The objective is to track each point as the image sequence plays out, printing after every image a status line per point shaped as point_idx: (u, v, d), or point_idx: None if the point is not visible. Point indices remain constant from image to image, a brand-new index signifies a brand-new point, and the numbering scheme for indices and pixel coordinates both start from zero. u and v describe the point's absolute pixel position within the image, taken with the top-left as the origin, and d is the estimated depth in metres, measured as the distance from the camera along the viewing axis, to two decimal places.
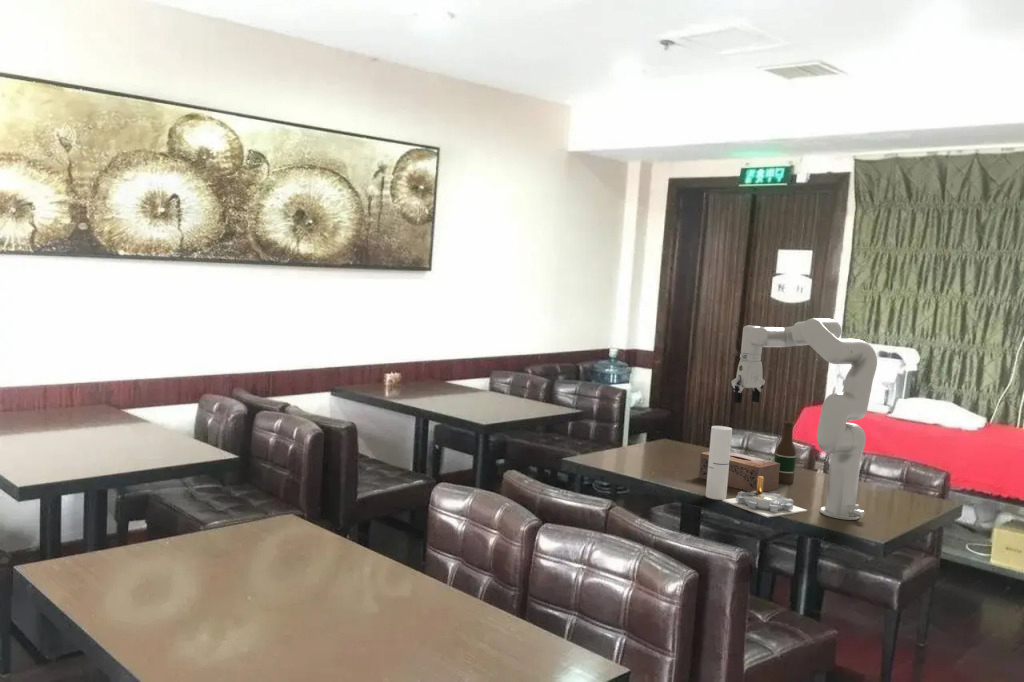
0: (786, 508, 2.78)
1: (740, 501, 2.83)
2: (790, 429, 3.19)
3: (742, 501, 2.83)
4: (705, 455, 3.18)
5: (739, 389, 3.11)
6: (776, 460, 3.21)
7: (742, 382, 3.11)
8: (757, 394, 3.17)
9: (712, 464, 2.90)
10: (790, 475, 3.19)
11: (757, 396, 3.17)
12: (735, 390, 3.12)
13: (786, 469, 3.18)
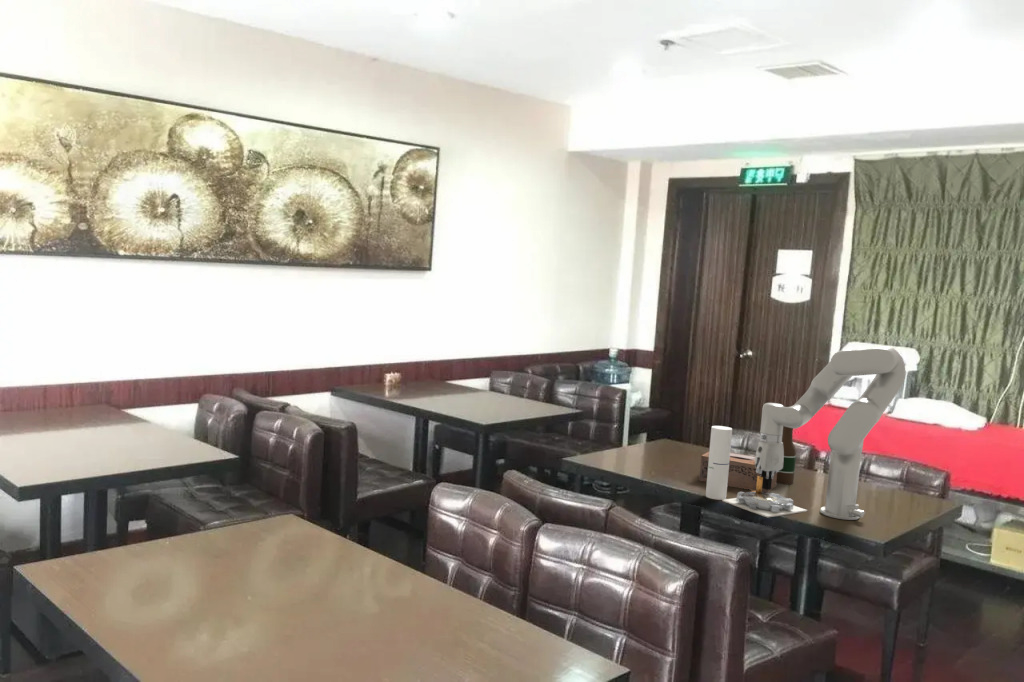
0: (787, 508, 2.78)
1: (740, 501, 2.83)
2: (790, 429, 3.19)
3: (742, 501, 2.83)
4: (707, 457, 3.14)
5: (766, 476, 2.90)
6: None
7: (761, 465, 2.88)
8: None
9: (712, 464, 2.90)
10: (790, 475, 3.19)
11: None
12: (762, 476, 2.91)
13: (786, 469, 3.18)
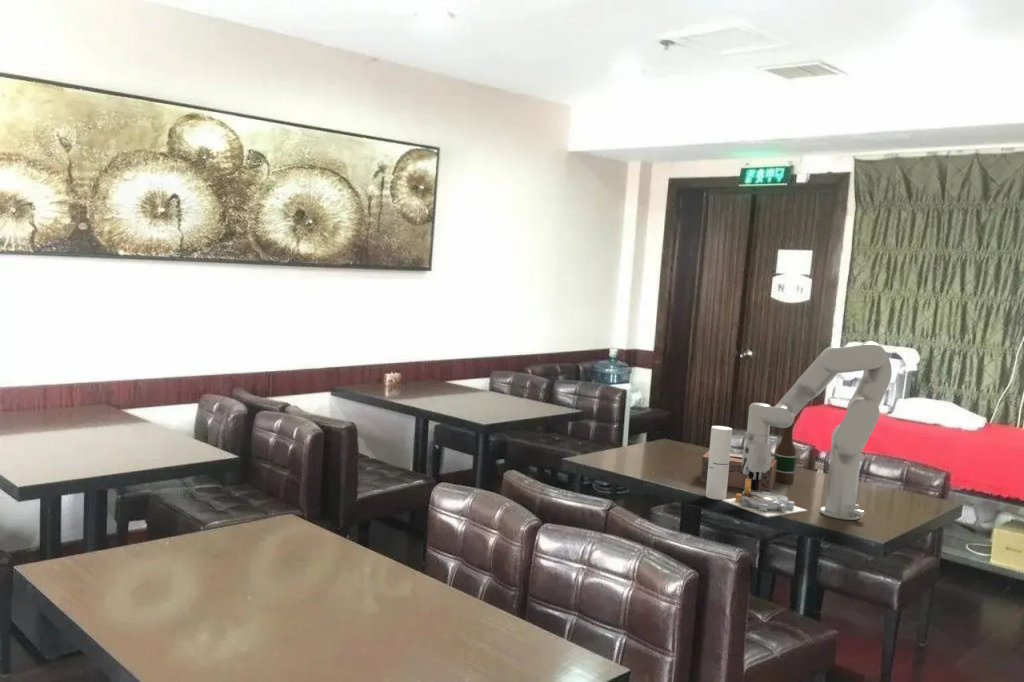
0: None
1: (767, 508, 2.76)
2: (790, 429, 3.19)
3: (767, 508, 2.77)
4: (708, 458, 3.13)
5: (753, 477, 2.87)
6: None
7: (748, 466, 2.84)
8: None
9: (712, 464, 2.90)
10: (790, 475, 3.19)
11: None
12: (749, 477, 2.88)
13: (786, 469, 3.18)
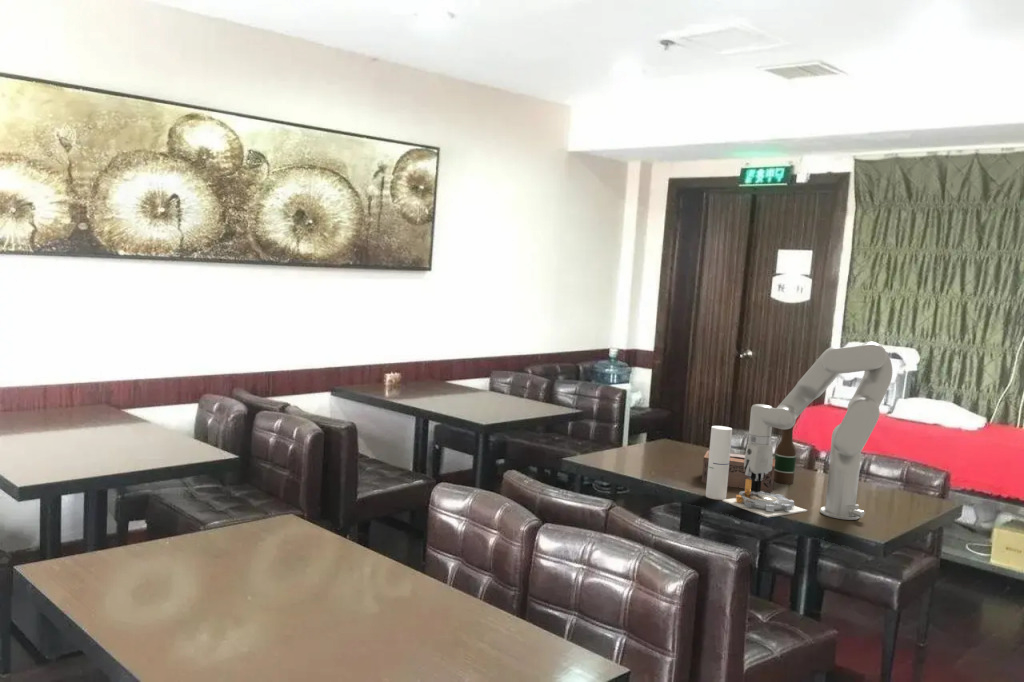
0: None
1: None
2: (790, 429, 3.19)
3: None
4: None
5: (755, 478, 2.87)
6: (776, 460, 3.21)
7: (751, 467, 2.84)
8: None
9: (712, 464, 2.90)
10: (790, 475, 3.19)
11: None
12: (752, 478, 2.88)
13: (786, 469, 3.18)
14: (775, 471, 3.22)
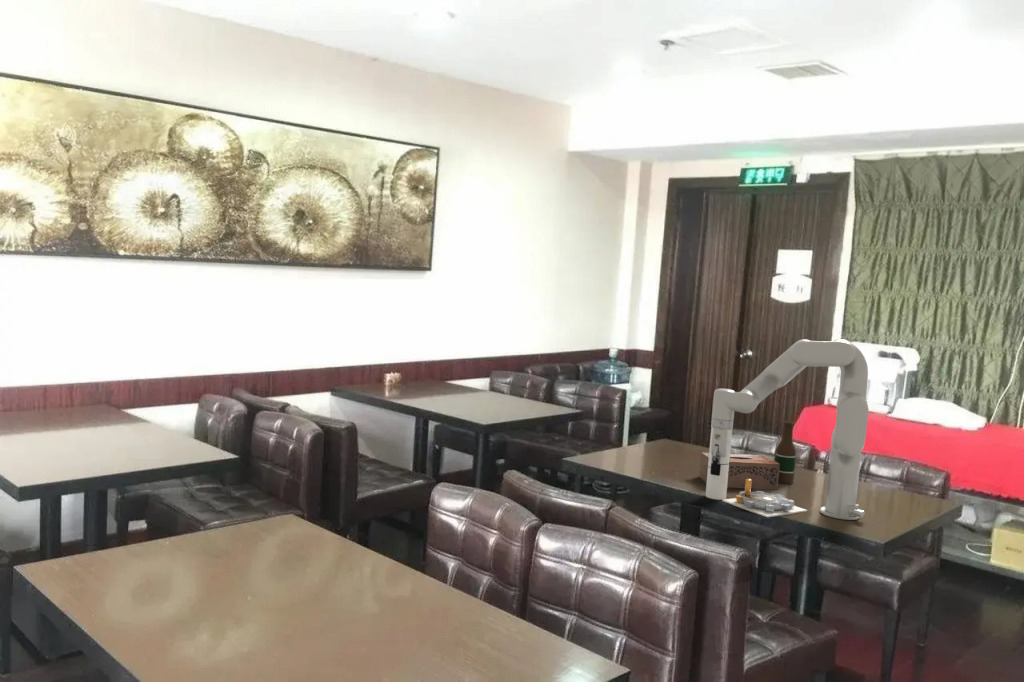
0: None
1: None
2: (790, 429, 3.19)
3: None
4: None
5: (718, 461, 2.87)
6: (776, 460, 3.21)
7: (721, 452, 2.87)
8: None
9: None
10: (790, 475, 3.19)
11: None
12: (714, 462, 2.87)
13: (786, 469, 3.18)
14: None
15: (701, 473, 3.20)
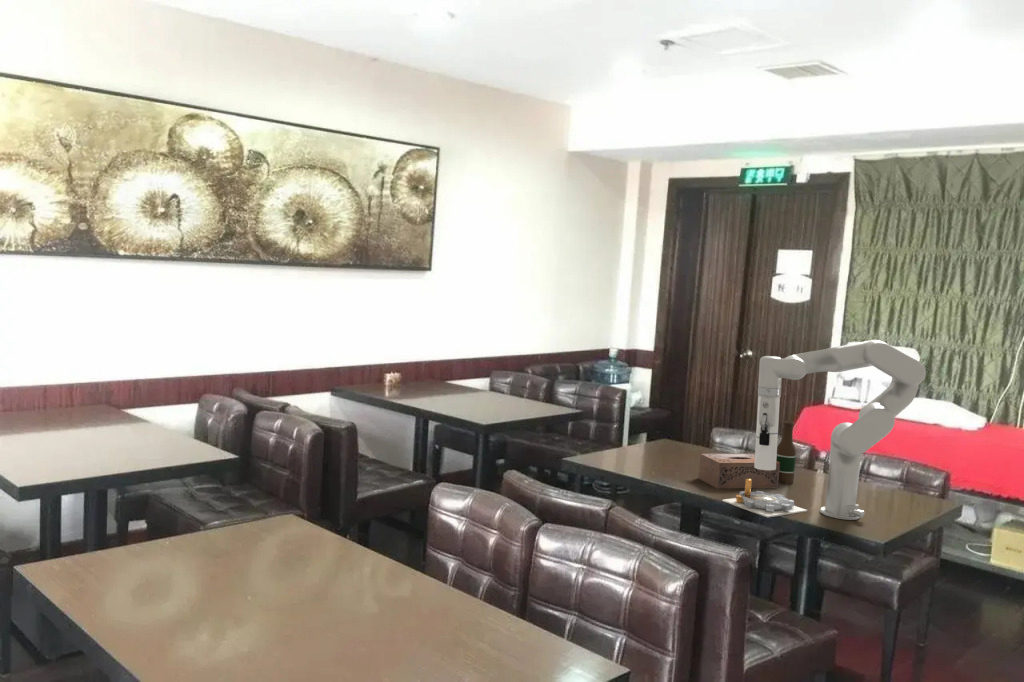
0: None
1: None
2: (790, 429, 3.19)
3: None
4: (724, 464, 3.06)
5: (767, 430, 2.79)
6: (776, 460, 3.21)
7: (769, 421, 2.78)
8: None
9: None
10: (790, 475, 3.19)
11: None
12: (763, 432, 2.79)
13: (786, 469, 3.18)
14: None
15: (701, 475, 3.17)
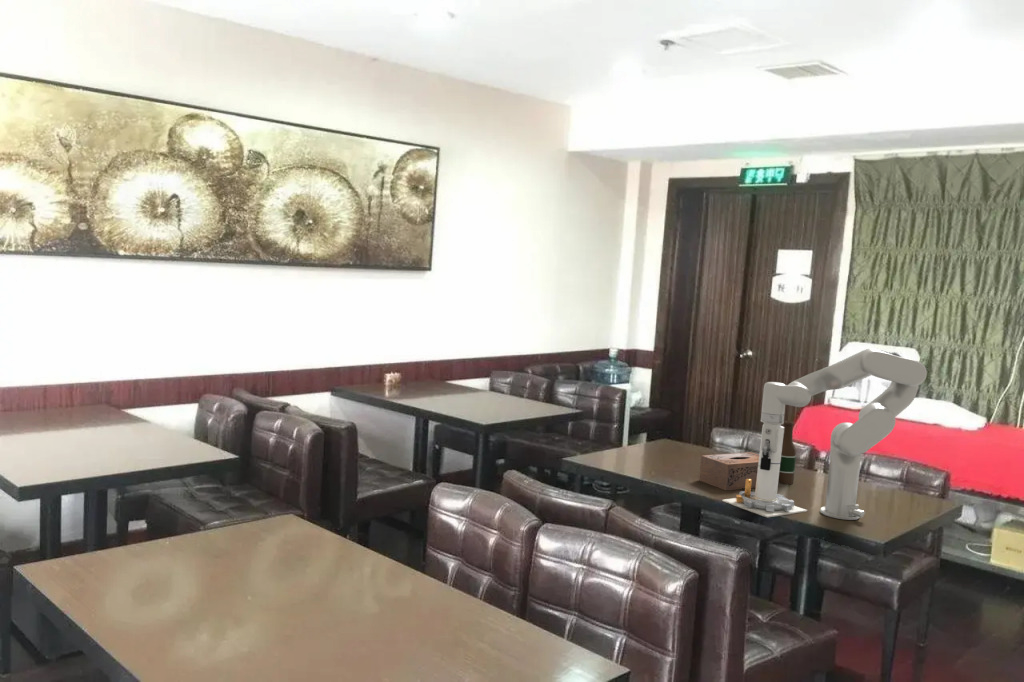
0: None
1: None
2: (790, 429, 3.19)
3: None
4: (732, 465, 3.04)
5: (769, 455, 2.78)
6: None
7: (772, 447, 2.78)
8: None
9: None
10: (790, 475, 3.19)
11: None
12: (764, 456, 2.78)
13: (786, 469, 3.18)
14: None
15: (703, 477, 3.14)
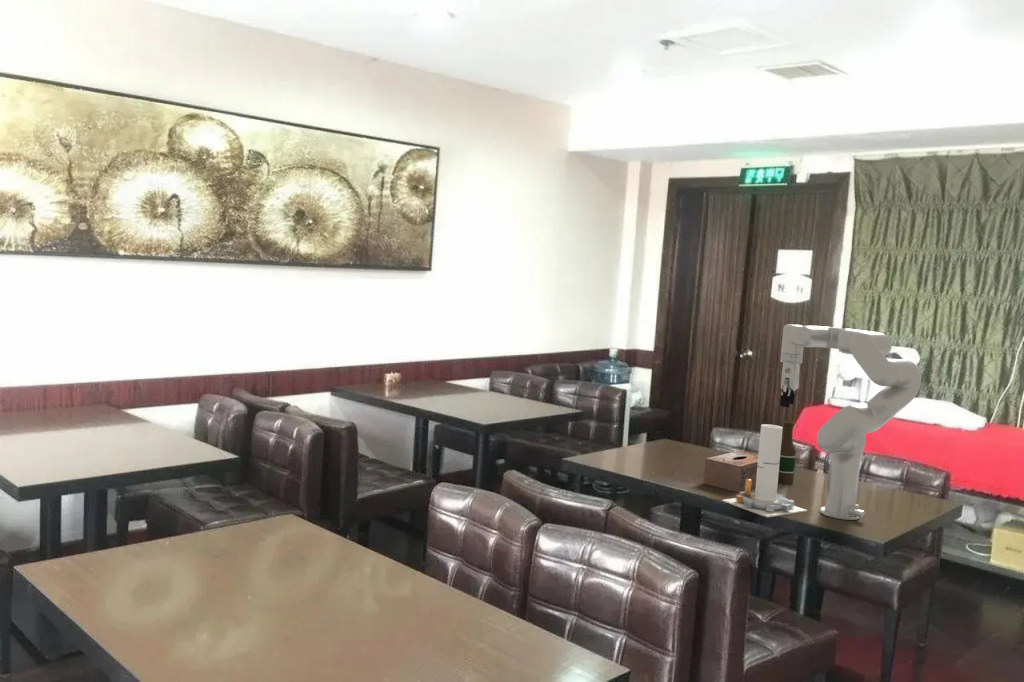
0: None
1: None
2: (790, 429, 3.19)
3: None
4: (743, 466, 3.03)
5: (788, 392, 2.93)
6: None
7: (791, 385, 2.93)
8: (792, 395, 3.02)
9: (762, 464, 2.81)
10: (790, 475, 3.19)
11: (792, 398, 3.02)
12: (784, 394, 2.93)
13: (786, 469, 3.18)
14: None
15: (709, 479, 3.10)
